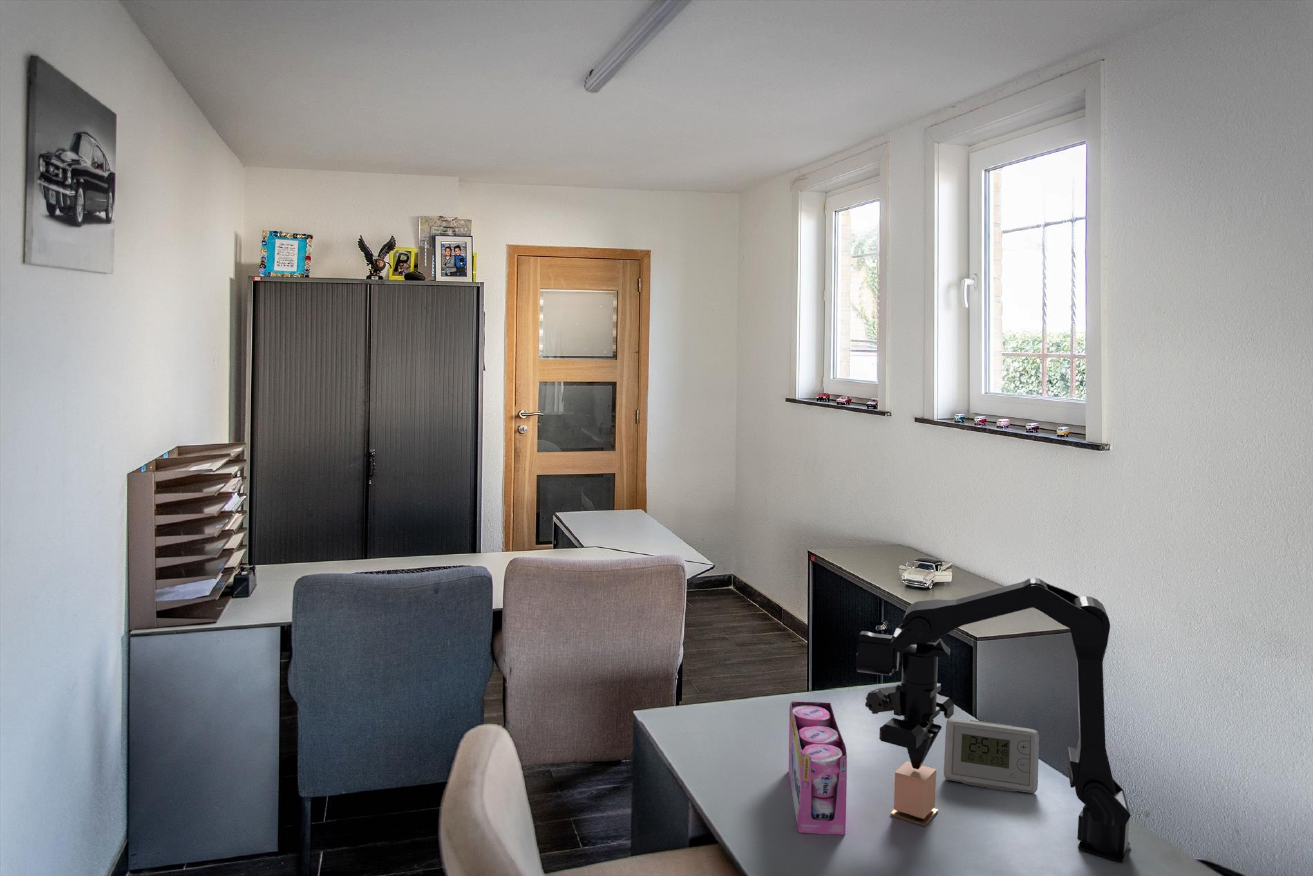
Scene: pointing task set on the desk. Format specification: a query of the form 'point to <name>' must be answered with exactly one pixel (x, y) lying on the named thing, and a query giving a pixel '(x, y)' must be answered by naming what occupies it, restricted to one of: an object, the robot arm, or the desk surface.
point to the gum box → (817, 768)
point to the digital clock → (991, 755)
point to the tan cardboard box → (915, 790)
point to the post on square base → (915, 819)
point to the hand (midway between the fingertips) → (916, 768)
